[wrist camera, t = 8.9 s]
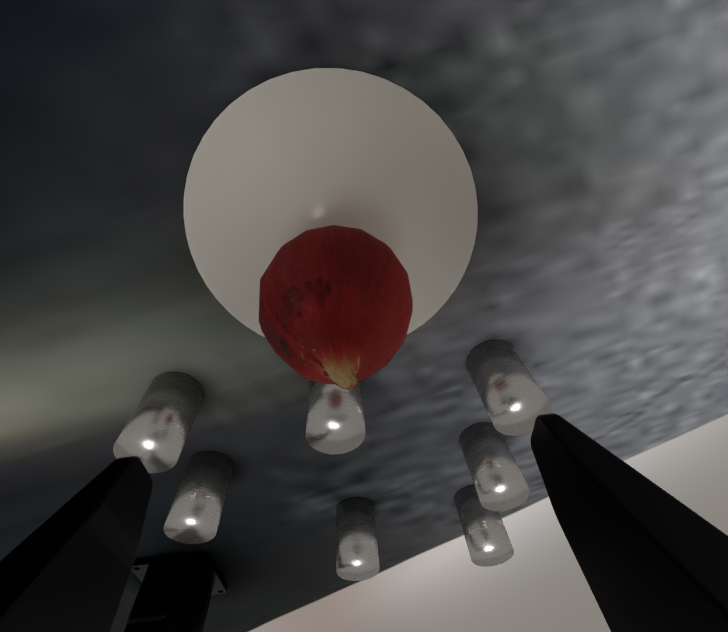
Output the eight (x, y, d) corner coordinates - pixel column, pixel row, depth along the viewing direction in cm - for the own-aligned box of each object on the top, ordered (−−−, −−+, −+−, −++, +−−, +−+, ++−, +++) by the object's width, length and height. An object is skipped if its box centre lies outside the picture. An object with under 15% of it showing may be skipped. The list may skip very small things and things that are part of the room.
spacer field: (489, 505, 31) (510, 563, 28) (222, 533, 31) (206, 597, 27) (518, 337, 22) (556, 390, 19) (142, 375, 22) (102, 437, 18)
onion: (271, 307, 19) (236, 440, 12) (274, 191, 16) (229, 284, 9) (386, 318, 20) (411, 449, 13) (410, 209, 17) (460, 308, 10)
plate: (460, 329, 22) (467, 341, 21) (233, 351, 22) (228, 365, 21) (481, 54, 15) (492, 52, 14) (147, 83, 15) (133, 83, 14)
